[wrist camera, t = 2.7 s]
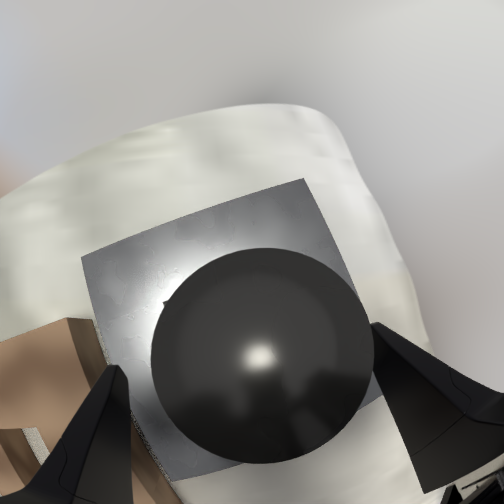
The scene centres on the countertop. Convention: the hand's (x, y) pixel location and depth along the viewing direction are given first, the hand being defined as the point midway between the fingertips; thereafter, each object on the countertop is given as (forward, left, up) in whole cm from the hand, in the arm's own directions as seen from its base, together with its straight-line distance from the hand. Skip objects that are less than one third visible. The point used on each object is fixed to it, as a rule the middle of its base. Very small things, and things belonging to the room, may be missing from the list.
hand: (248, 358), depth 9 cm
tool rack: (-4, +18, -8) cm, 20 cm away
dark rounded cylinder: (+1, 0, -8) cm, 8 cm away
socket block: (+1, 0, -8) cm, 8 cm away
